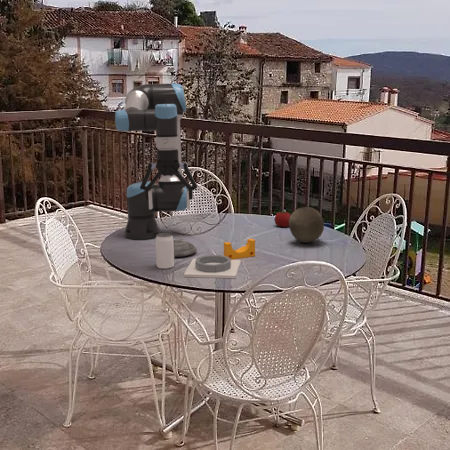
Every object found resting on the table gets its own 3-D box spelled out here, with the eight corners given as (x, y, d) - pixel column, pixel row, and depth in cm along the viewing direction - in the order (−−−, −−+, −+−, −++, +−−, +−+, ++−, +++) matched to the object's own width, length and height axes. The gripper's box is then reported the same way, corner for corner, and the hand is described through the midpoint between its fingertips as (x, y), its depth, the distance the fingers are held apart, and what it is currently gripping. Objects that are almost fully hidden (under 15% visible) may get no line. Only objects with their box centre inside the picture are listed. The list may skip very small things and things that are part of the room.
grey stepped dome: (162, 261, 221) (161, 247, 220) (155, 250, 236) (155, 237, 234) (200, 257, 225) (200, 243, 224) (192, 246, 239) (191, 234, 238)
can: (171, 269, 210) (170, 237, 207) (154, 268, 212) (152, 236, 209) (176, 264, 217) (175, 232, 214) (159, 263, 218) (158, 232, 215)
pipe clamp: (250, 253, 229) (250, 237, 227) (255, 256, 225) (255, 240, 224) (222, 257, 224) (221, 241, 223) (226, 260, 220) (226, 244, 219)
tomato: (271, 226, 268) (271, 211, 267) (280, 223, 275) (280, 208, 273) (287, 229, 264) (287, 213, 262) (295, 225, 270) (295, 210, 269)
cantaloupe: (290, 238, 249) (290, 203, 246) (324, 239, 246) (325, 204, 243) (287, 247, 236) (287, 210, 232) (322, 248, 233) (323, 211, 229)
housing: (183, 277, 202) (183, 267, 202) (193, 261, 220) (192, 252, 219) (235, 278, 200) (235, 268, 199) (241, 262, 217) (240, 253, 217)
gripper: (129, 150, 202) (132, 210, 207) (201, 149, 200) (203, 210, 205) (134, 148, 210) (137, 206, 214) (204, 147, 208) (205, 206, 212)
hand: (169, 208), depth 210 cm, fingers open, 13 cm apart
